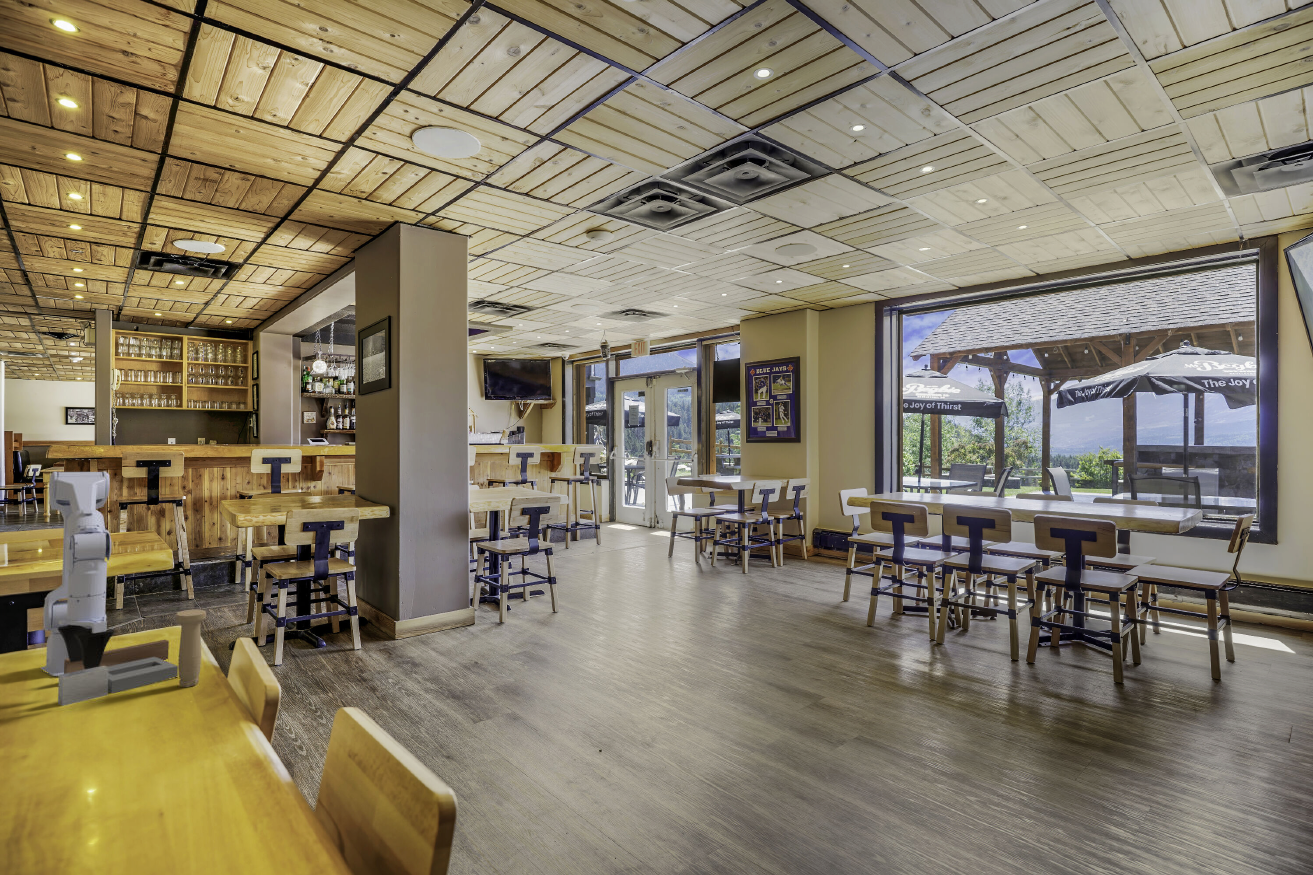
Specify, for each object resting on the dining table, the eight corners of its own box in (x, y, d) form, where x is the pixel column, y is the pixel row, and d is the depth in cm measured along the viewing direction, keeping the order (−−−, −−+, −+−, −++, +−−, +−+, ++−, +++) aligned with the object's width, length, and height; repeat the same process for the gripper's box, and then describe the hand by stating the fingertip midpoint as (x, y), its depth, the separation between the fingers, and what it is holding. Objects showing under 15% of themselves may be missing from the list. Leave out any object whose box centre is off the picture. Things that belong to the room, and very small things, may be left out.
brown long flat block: (63, 683, 137) (64, 658, 137) (164, 661, 152) (165, 639, 153) (66, 684, 136) (67, 660, 136) (168, 662, 151) (168, 640, 151)
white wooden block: (57, 703, 126) (58, 674, 126) (103, 693, 132) (104, 665, 132) (61, 706, 125) (62, 677, 125) (107, 695, 131) (108, 667, 131)
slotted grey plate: (90, 682, 138) (90, 670, 138) (154, 667, 148) (154, 656, 148) (111, 693, 132) (112, 680, 132) (177, 677, 141) (177, 665, 141)
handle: (179, 691, 133) (182, 617, 133) (170, 684, 137) (172, 612, 138) (207, 685, 137) (210, 613, 137) (197, 678, 141) (199, 608, 141)
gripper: (47, 593, 130) (44, 662, 129) (74, 602, 122) (71, 676, 121) (92, 587, 136) (90, 654, 135) (120, 596, 128) (118, 666, 127)
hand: (84, 664), depth 129 cm, fingers open, 7 cm apart
